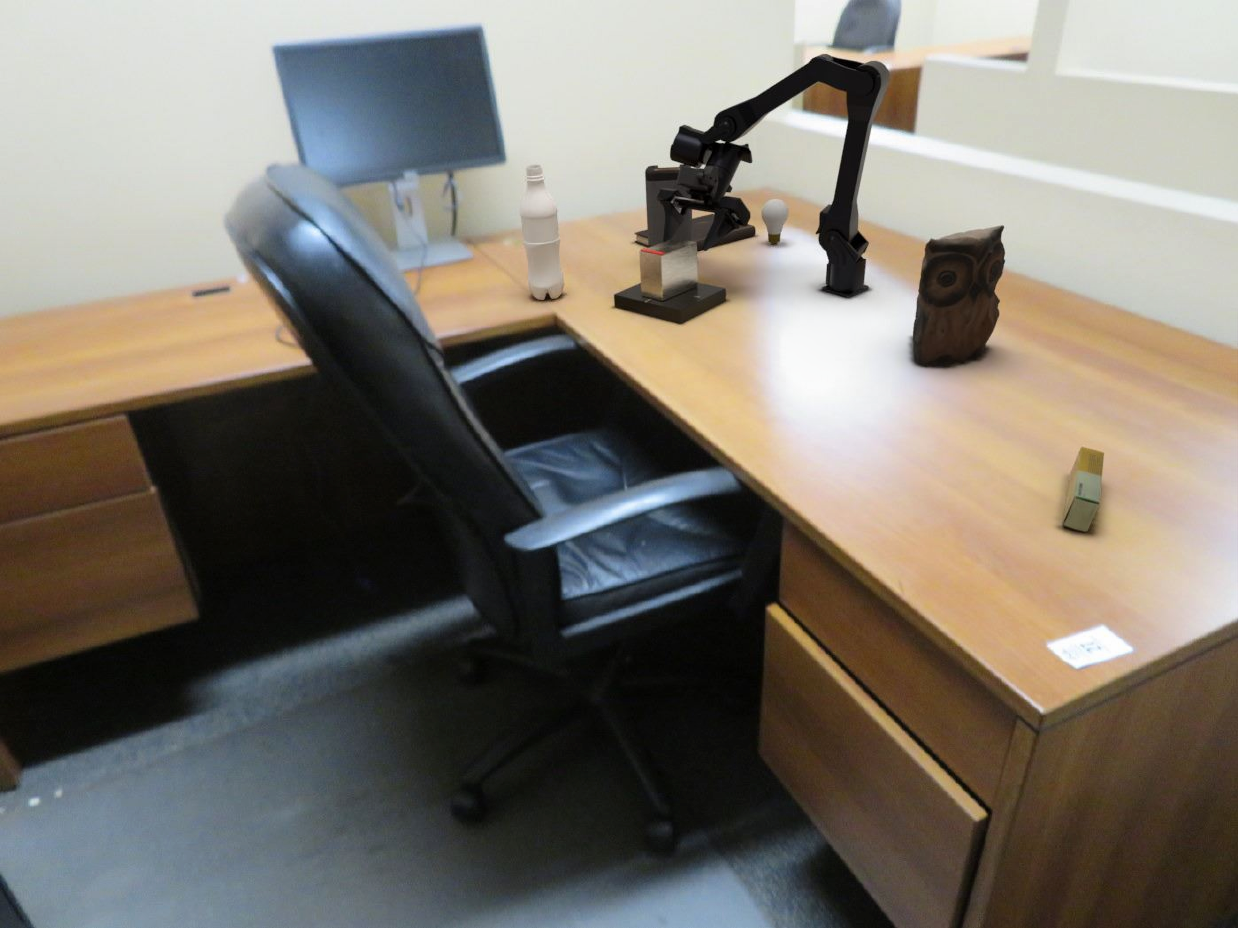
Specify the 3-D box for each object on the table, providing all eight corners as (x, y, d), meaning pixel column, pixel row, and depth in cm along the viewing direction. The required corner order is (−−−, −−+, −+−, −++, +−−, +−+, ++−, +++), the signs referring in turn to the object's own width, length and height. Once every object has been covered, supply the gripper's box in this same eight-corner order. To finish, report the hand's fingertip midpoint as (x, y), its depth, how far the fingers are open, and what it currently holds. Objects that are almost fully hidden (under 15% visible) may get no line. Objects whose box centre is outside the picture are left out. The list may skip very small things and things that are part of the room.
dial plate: (726, 300, 162) (726, 287, 161) (680, 324, 153) (680, 309, 152) (661, 286, 172) (660, 273, 170) (614, 307, 163) (613, 293, 161)
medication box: (1088, 534, 93) (1100, 505, 91) (1061, 526, 94) (1073, 497, 92) (1093, 478, 102) (1105, 450, 100) (1069, 472, 103) (1080, 444, 101)
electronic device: (693, 258, 186) (691, 163, 176) (692, 267, 181) (690, 169, 171) (650, 260, 187) (646, 165, 177) (648, 268, 182) (644, 171, 172)
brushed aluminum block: (676, 281, 166) (675, 236, 161) (697, 286, 162) (697, 241, 158) (641, 295, 160) (639, 249, 156) (662, 301, 157) (661, 254, 152)
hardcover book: (634, 242, 199) (634, 232, 198) (712, 223, 209) (712, 213, 208) (675, 257, 187) (675, 247, 186) (755, 236, 198) (755, 226, 196)
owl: (994, 346, 137) (1017, 221, 126) (980, 377, 127) (1003, 245, 117) (914, 335, 142) (929, 215, 132) (894, 364, 133) (909, 237, 123)
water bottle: (560, 302, 167) (547, 170, 154) (525, 302, 168) (509, 171, 156) (569, 290, 173) (557, 162, 160) (535, 289, 174) (520, 163, 162)
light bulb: (789, 247, 188) (791, 201, 183) (762, 249, 189) (763, 203, 184) (785, 240, 193) (787, 195, 188) (759, 241, 194) (760, 196, 189)
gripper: (659, 144, 161) (624, 216, 159) (742, 152, 150) (705, 230, 148) (686, 178, 170) (653, 247, 168) (766, 188, 159) (731, 262, 157)
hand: (683, 246), depth 160 cm, fingers open, 9 cm apart
